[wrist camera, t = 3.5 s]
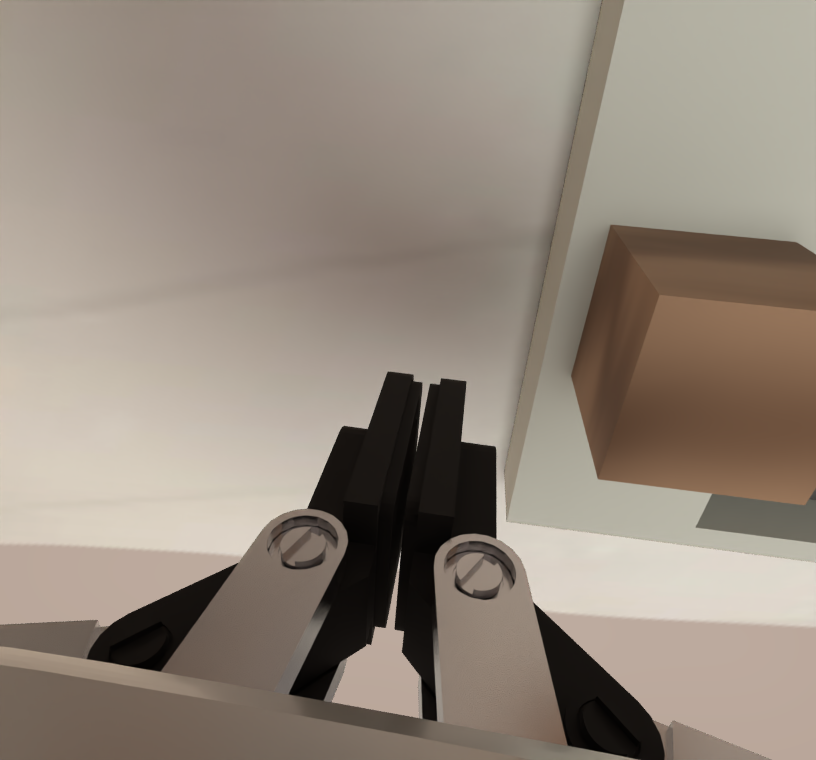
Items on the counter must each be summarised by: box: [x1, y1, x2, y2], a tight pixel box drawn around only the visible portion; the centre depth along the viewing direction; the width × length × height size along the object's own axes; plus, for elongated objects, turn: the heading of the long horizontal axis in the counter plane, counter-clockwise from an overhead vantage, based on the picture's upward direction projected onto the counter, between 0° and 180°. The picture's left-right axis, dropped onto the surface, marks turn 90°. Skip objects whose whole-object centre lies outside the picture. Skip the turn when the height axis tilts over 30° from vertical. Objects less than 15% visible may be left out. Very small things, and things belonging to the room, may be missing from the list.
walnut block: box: [571, 225, 816, 505], centre depth 14 cm, size 5×5×5 cm
